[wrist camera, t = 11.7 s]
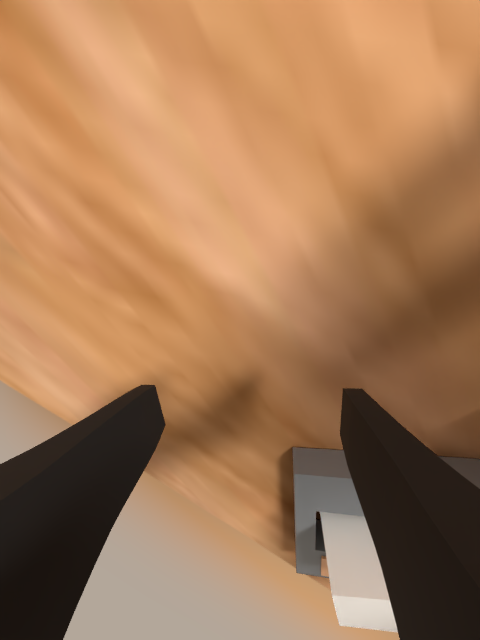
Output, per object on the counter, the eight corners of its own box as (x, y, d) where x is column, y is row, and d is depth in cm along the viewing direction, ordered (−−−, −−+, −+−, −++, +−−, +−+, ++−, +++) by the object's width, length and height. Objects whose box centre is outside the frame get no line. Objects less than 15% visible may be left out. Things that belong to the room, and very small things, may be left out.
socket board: (536, 462, 17) (578, 500, 15) (487, 568, 22) (513, 610, 20) (292, 447, 21) (294, 476, 18) (295, 542, 26) (296, 575, 23)
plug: (361, 489, 21) (396, 601, 15) (365, 517, 22) (400, 632, 16) (316, 489, 22) (331, 595, 16) (323, 517, 23) (339, 625, 17)
